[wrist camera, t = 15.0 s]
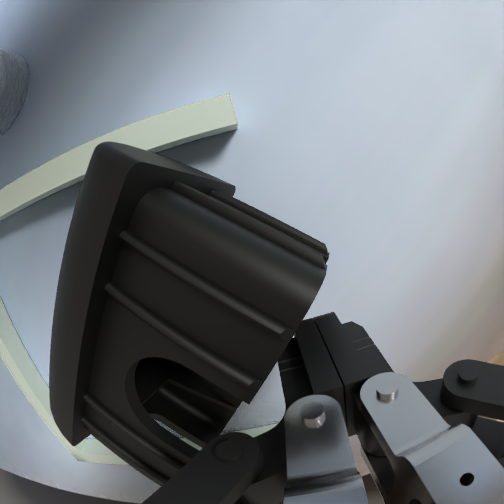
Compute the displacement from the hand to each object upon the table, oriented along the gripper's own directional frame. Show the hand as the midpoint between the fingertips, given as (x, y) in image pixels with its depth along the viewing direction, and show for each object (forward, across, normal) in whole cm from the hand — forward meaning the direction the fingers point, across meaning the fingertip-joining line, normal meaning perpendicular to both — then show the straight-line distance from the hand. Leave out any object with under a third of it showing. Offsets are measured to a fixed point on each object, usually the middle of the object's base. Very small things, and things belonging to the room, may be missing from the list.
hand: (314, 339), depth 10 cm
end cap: (+3, +4, -1) cm, 5 cm away
